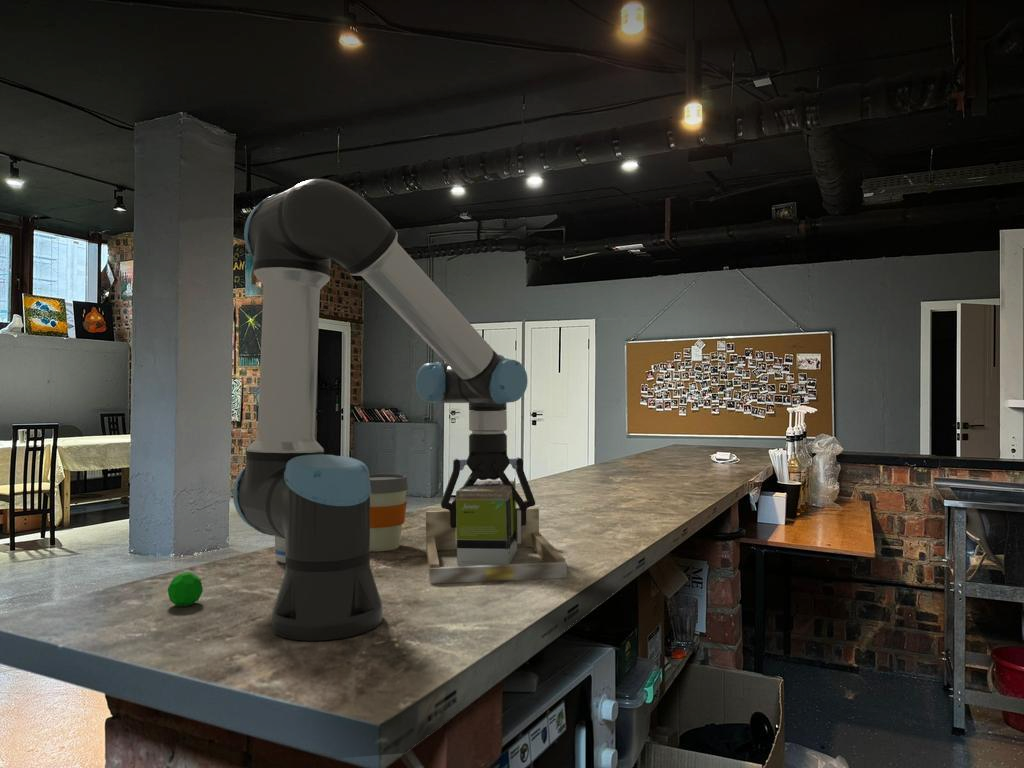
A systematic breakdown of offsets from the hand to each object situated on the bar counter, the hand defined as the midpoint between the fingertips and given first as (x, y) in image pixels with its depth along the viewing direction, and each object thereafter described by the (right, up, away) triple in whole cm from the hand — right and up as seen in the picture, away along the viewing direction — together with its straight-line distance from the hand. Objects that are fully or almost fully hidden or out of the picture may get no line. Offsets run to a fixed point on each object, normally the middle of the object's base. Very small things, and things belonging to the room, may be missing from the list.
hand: (488, 543), depth 139 cm
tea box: (0, -3, 0) cm, 3 cm away
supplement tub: (-38, -4, +1) cm, 38 cm away
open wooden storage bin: (0, -3, -3) cm, 4 cm away
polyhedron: (-46, -3, -30) cm, 55 cm away
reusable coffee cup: (-24, -4, +12) cm, 27 cm away
